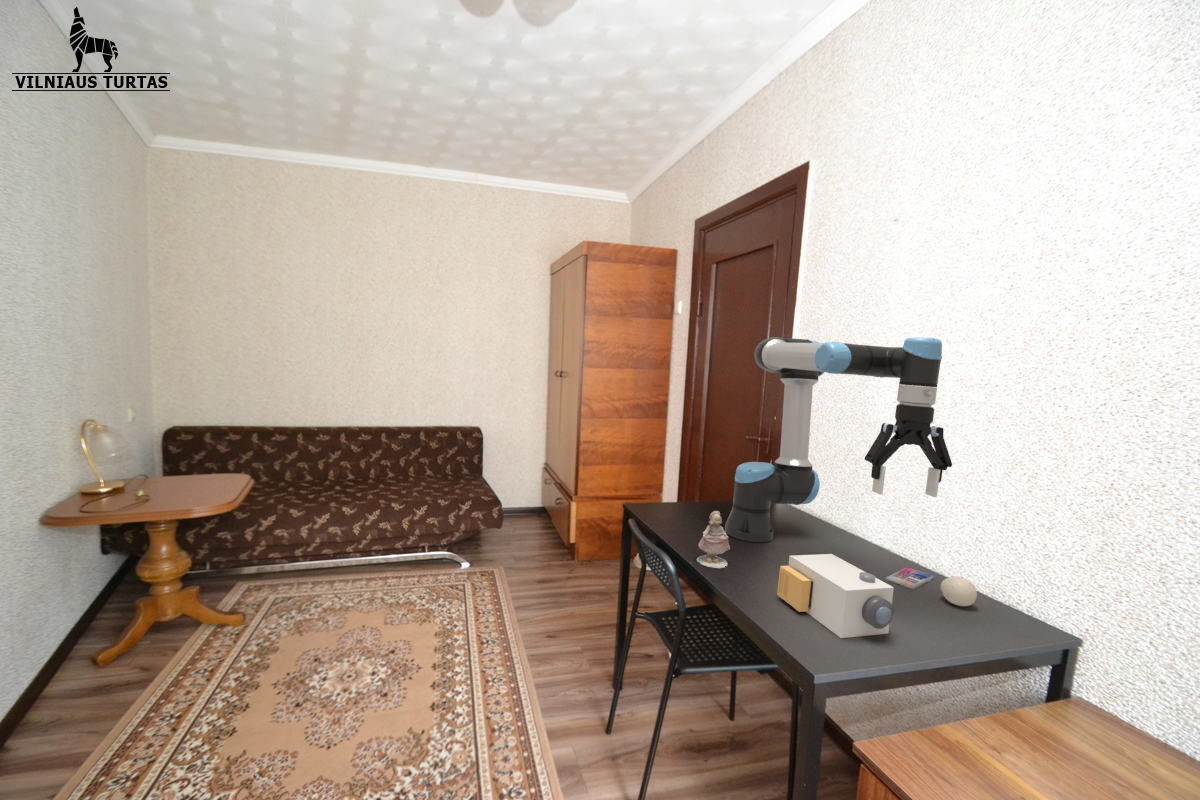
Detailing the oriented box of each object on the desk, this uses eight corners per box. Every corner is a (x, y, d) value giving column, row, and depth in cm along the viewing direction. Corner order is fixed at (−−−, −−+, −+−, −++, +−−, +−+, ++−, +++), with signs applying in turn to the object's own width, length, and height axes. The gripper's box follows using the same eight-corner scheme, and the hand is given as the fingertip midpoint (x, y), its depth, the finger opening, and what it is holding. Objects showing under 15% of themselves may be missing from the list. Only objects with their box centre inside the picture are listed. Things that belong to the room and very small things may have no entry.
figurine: (708, 571, 127) (701, 512, 131) (684, 569, 136) (678, 513, 139) (739, 566, 133) (732, 509, 136) (714, 563, 141) (708, 510, 144)
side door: (776, 594, 116) (779, 566, 116) (785, 594, 117) (788, 565, 117) (799, 611, 109) (802, 581, 108) (808, 611, 109) (811, 580, 109)
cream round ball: (950, 595, 125) (954, 570, 125) (981, 609, 118) (985, 582, 118) (931, 598, 123) (935, 572, 122) (962, 612, 116) (965, 585, 115)
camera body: (784, 596, 118) (789, 551, 117) (827, 593, 121) (832, 549, 120) (849, 645, 98) (855, 591, 97) (898, 640, 101) (905, 588, 100)
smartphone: (883, 577, 132) (906, 566, 142) (882, 580, 133) (905, 569, 142) (913, 587, 127) (935, 575, 136) (913, 591, 127) (935, 579, 136)
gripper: (875, 402, 110) (864, 496, 112) (978, 409, 112) (966, 501, 114) (855, 399, 117) (844, 487, 119) (952, 406, 120) (940, 492, 122)
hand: (904, 494), depth 117 cm, fingers open, 13 cm apart
